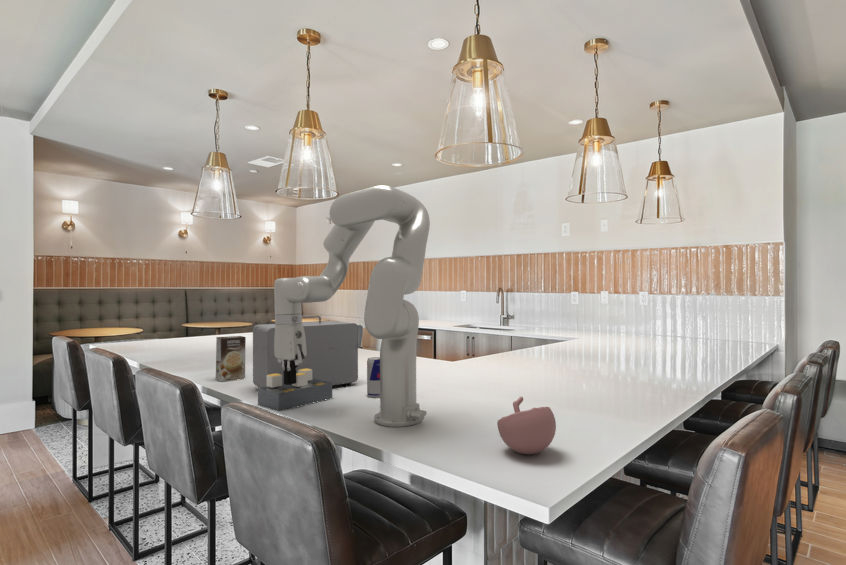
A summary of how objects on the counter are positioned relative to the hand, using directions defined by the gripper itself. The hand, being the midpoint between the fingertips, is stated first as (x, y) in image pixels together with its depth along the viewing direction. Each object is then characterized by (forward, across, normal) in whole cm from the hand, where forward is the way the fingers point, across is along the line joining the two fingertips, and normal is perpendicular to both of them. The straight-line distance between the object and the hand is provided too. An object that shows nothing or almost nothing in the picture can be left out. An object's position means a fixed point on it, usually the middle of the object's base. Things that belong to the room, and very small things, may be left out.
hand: (290, 383), depth 135 cm
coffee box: (+6, +54, -10) cm, 55 cm away
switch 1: (+2, +8, 0) cm, 8 cm away
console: (+7, +5, -5) cm, 10 cm away
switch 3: (+2, +3, -5) cm, 6 cm away
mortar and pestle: (+9, -70, -11) cm, 71 cm away
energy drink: (+8, -8, -26) cm, 28 cm away
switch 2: (+2, +8, -11) cm, 13 cm away
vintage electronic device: (+7, +20, -20) cm, 29 cm away
